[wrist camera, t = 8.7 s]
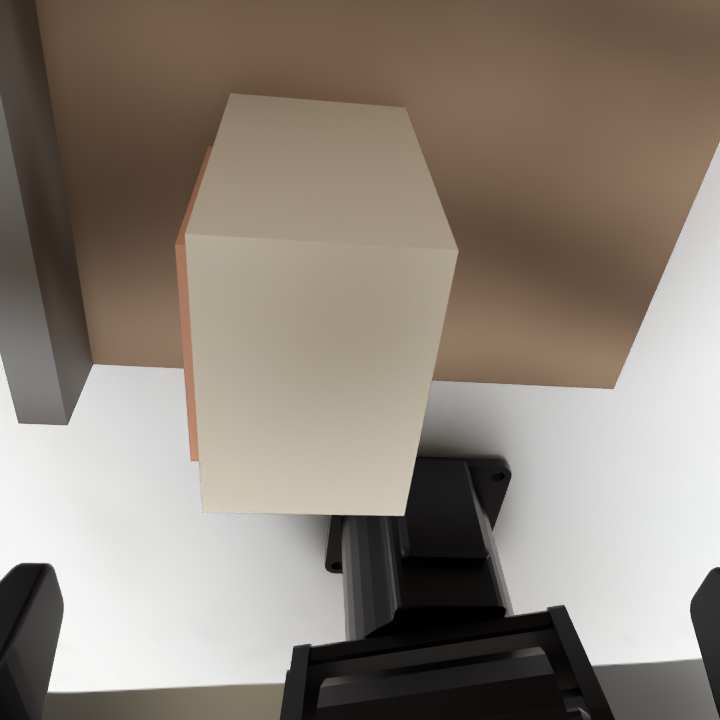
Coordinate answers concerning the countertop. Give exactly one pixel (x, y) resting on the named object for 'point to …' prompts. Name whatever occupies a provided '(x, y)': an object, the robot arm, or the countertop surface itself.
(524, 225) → the brown tray
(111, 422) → the countertop surface
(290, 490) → the askew carton
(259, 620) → the countertop surface
